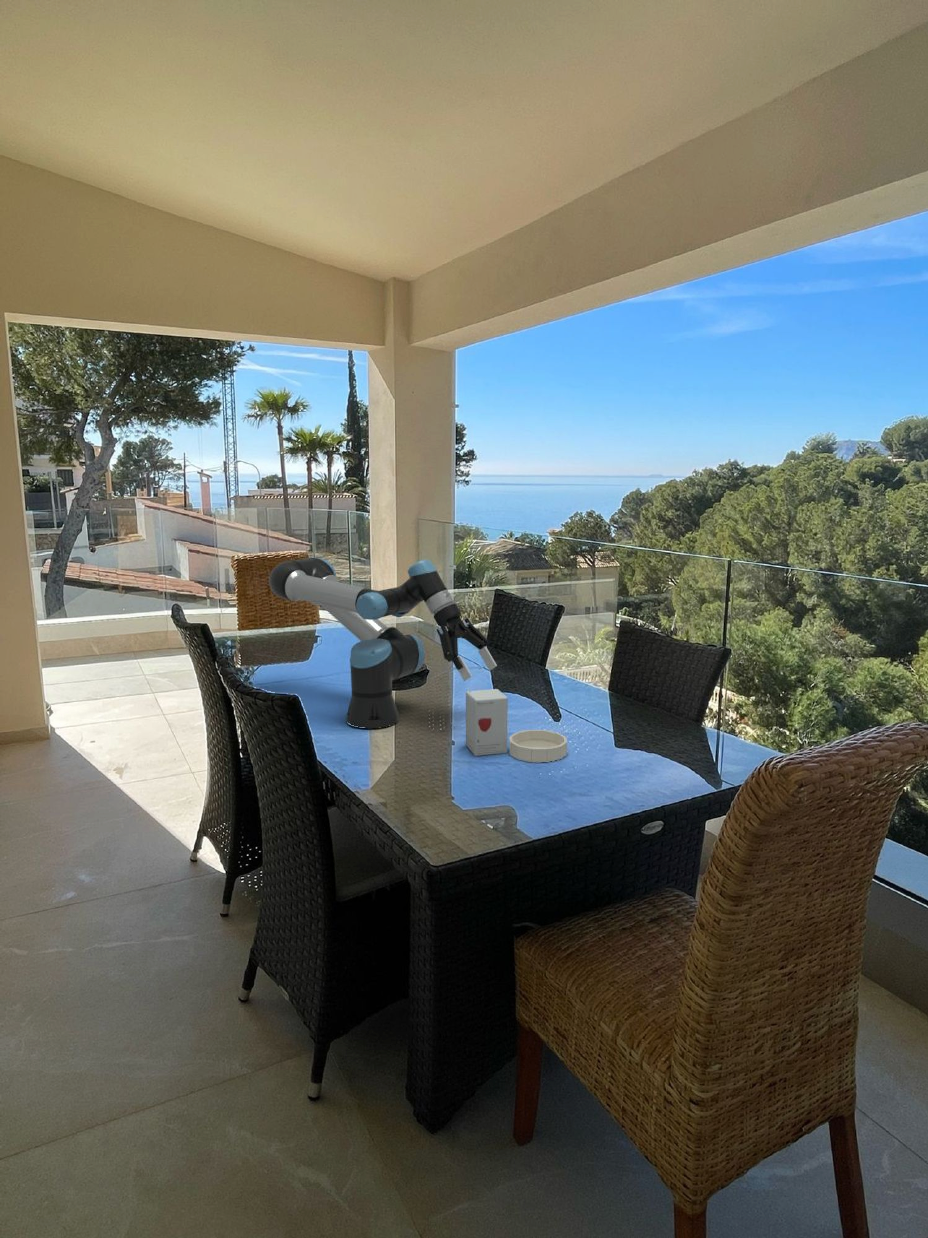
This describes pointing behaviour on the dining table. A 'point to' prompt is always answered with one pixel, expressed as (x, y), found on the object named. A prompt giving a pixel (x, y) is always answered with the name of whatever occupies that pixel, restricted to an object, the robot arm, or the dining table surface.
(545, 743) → the bowl
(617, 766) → the dining table surface
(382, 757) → the dining table surface
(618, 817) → the dining table surface
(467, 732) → the supplement box
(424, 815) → the dining table surface
